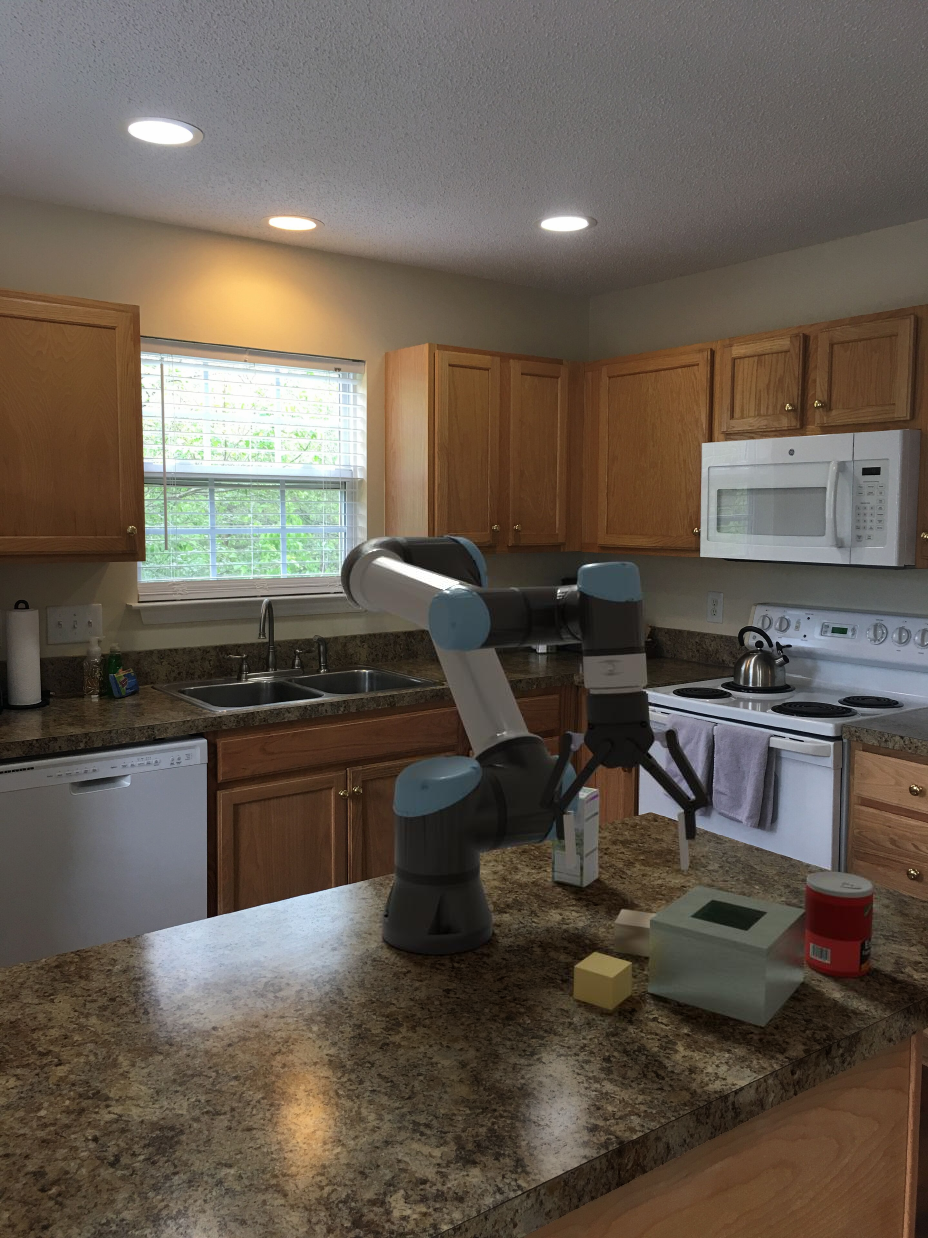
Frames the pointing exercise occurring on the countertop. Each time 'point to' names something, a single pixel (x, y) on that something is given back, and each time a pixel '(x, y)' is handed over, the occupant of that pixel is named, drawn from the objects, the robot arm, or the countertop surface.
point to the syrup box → (580, 844)
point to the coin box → (727, 953)
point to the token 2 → (632, 932)
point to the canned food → (838, 924)
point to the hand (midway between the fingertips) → (627, 867)
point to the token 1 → (602, 980)
